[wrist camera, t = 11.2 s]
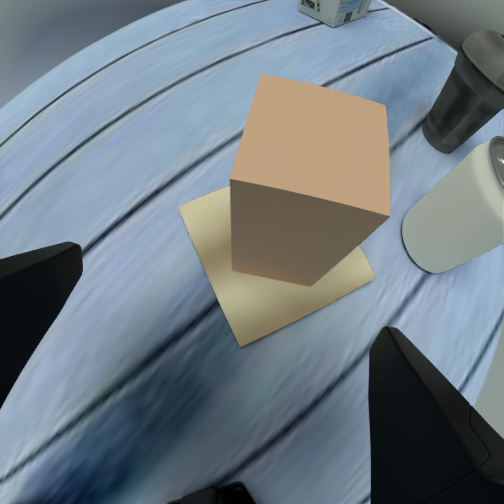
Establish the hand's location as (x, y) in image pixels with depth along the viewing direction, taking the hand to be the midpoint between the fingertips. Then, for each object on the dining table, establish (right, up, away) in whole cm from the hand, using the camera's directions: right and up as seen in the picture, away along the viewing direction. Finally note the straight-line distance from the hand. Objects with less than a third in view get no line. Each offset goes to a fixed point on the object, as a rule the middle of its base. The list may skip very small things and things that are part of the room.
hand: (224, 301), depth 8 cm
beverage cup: (+22, +14, +20) cm, 33 cm away
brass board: (+3, +2, +15) cm, 15 cm away
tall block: (+3, +2, +14) cm, 14 cm away
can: (+16, +2, +16) cm, 23 cm away
